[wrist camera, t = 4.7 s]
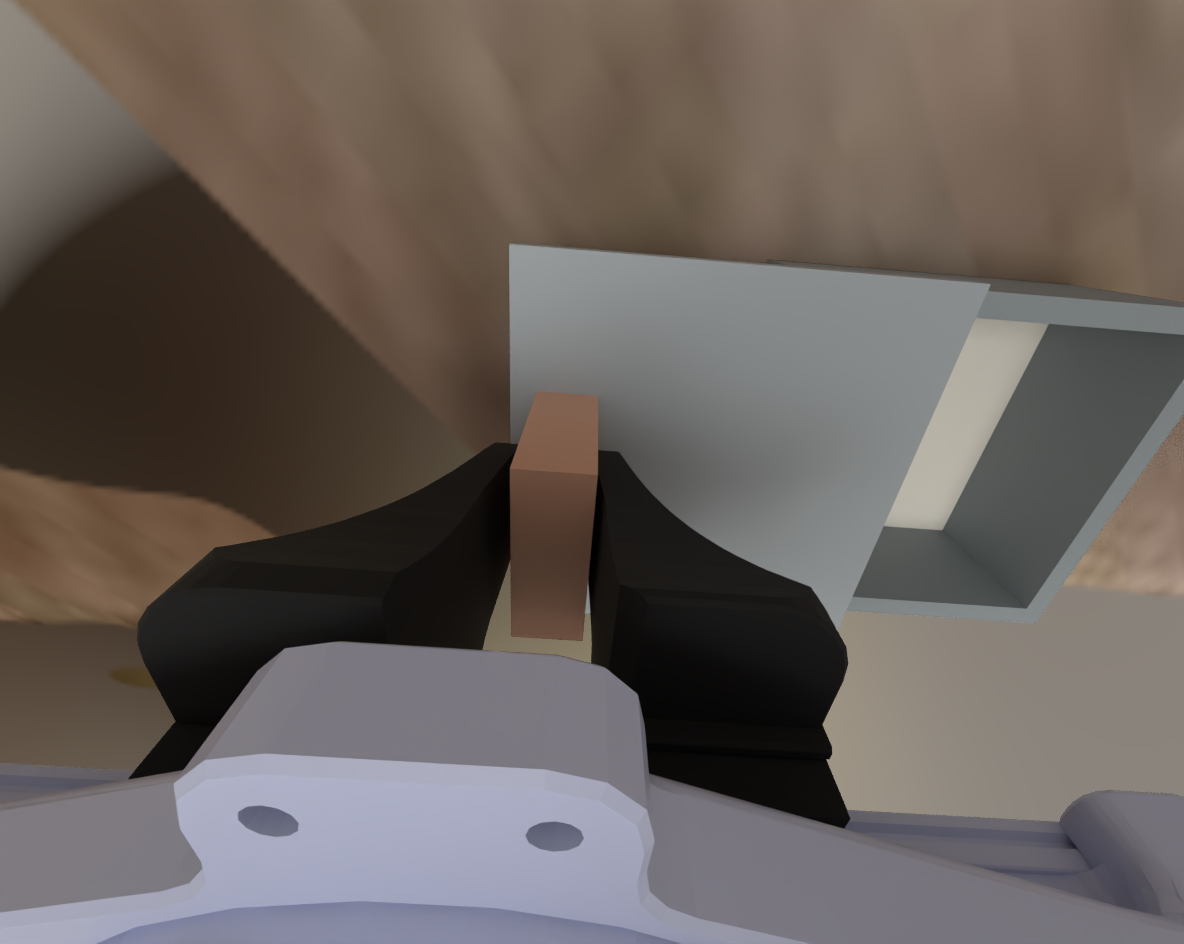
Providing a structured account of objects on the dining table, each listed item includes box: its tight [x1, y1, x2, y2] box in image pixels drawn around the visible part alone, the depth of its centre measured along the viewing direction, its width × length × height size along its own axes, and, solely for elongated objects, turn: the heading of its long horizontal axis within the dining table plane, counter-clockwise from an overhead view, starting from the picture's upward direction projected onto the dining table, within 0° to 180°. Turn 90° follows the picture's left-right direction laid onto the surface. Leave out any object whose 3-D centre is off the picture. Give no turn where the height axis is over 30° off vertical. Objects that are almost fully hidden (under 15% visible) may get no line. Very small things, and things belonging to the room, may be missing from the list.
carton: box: [767, 259, 1184, 623], centre depth 16 cm, size 10×10×5 cm
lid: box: [509, 242, 991, 641], centre depth 11 cm, size 10×10×5 cm
